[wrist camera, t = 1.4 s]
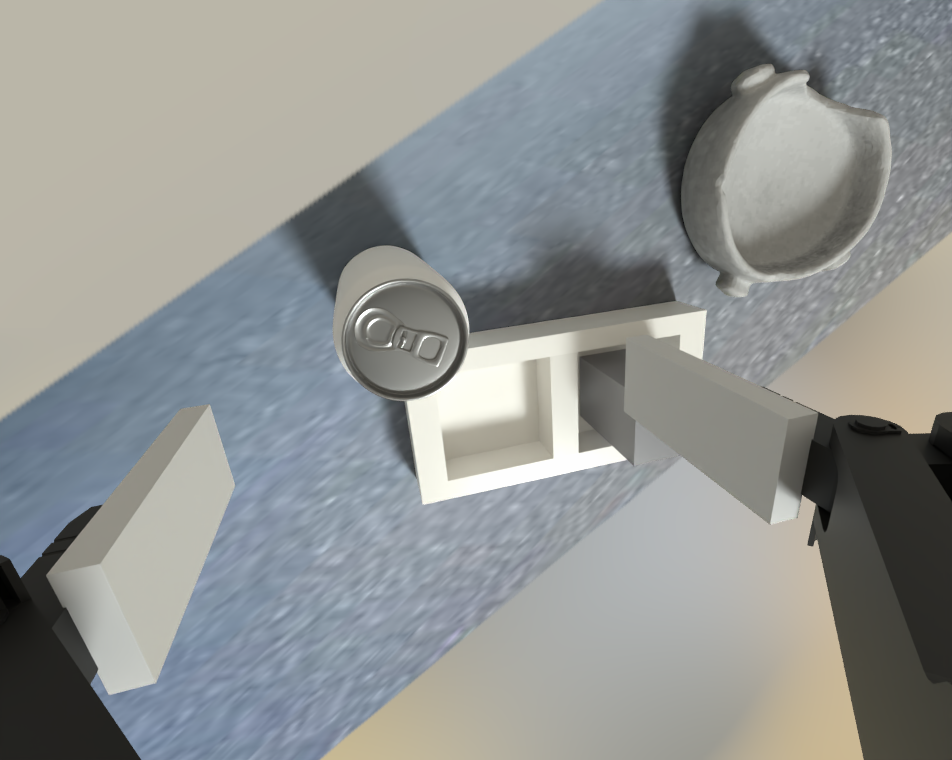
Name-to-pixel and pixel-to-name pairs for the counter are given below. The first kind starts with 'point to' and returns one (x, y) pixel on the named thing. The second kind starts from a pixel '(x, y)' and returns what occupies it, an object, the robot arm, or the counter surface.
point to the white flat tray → (529, 400)
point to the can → (398, 325)
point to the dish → (782, 180)
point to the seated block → (615, 409)
